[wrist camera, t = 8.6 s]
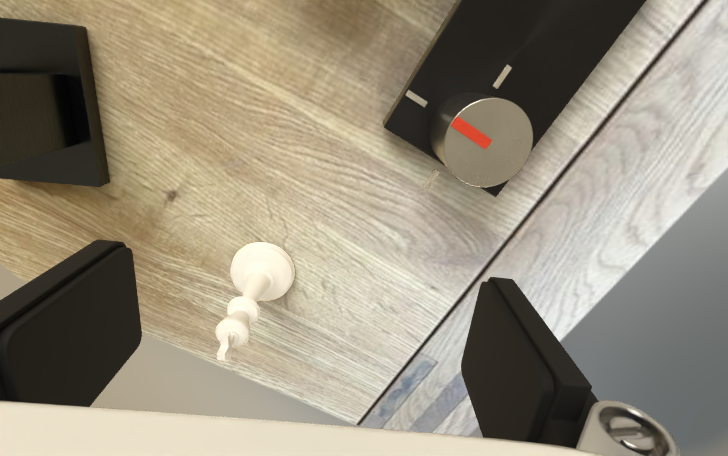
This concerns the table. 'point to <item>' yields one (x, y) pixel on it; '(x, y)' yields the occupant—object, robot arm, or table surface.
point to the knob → (481, 138)
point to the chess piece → (253, 291)
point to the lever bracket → (49, 105)
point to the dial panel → (509, 60)
